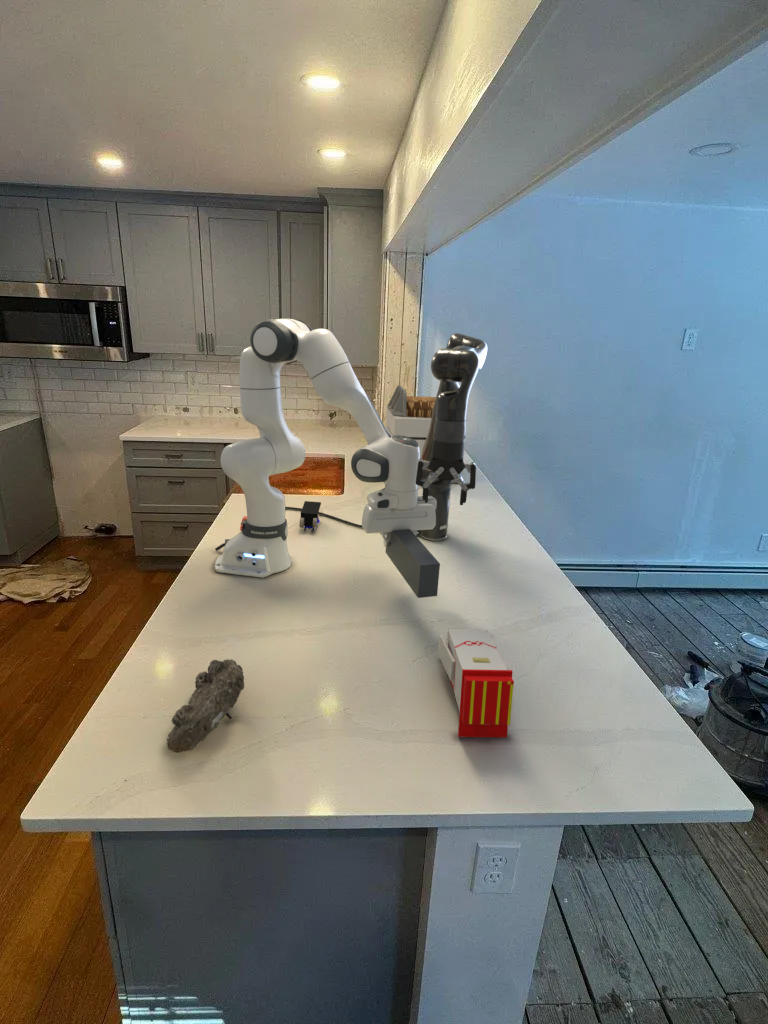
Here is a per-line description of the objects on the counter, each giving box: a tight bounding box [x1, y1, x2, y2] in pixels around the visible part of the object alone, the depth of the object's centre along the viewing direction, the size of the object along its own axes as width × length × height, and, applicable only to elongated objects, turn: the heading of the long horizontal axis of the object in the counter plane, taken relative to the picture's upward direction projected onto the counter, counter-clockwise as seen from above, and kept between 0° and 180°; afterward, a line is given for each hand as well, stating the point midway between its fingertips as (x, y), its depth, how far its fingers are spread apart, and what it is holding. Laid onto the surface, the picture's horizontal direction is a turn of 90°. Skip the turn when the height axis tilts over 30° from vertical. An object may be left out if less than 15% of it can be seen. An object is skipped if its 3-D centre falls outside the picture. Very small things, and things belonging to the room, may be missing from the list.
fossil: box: [166, 658, 245, 754], centre depth 106 cm, size 22×10×15 cm
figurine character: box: [299, 500, 322, 533], centre depth 201 cm, size 7×8×15 cm
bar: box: [385, 529, 441, 599], centre depth 146 cm, size 26×5×9 cm, turn 17°
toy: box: [437, 628, 515, 738], centre depth 117 cm, size 12×13×30 cm
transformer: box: [385, 384, 462, 484], centre depth 268 cm, size 34×33×41 cm
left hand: (397, 545), depth 155 cm, fingers closed on bar, 5 cm apart
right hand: (443, 503), depth 138 cm, fingers open, 8 cm apart
